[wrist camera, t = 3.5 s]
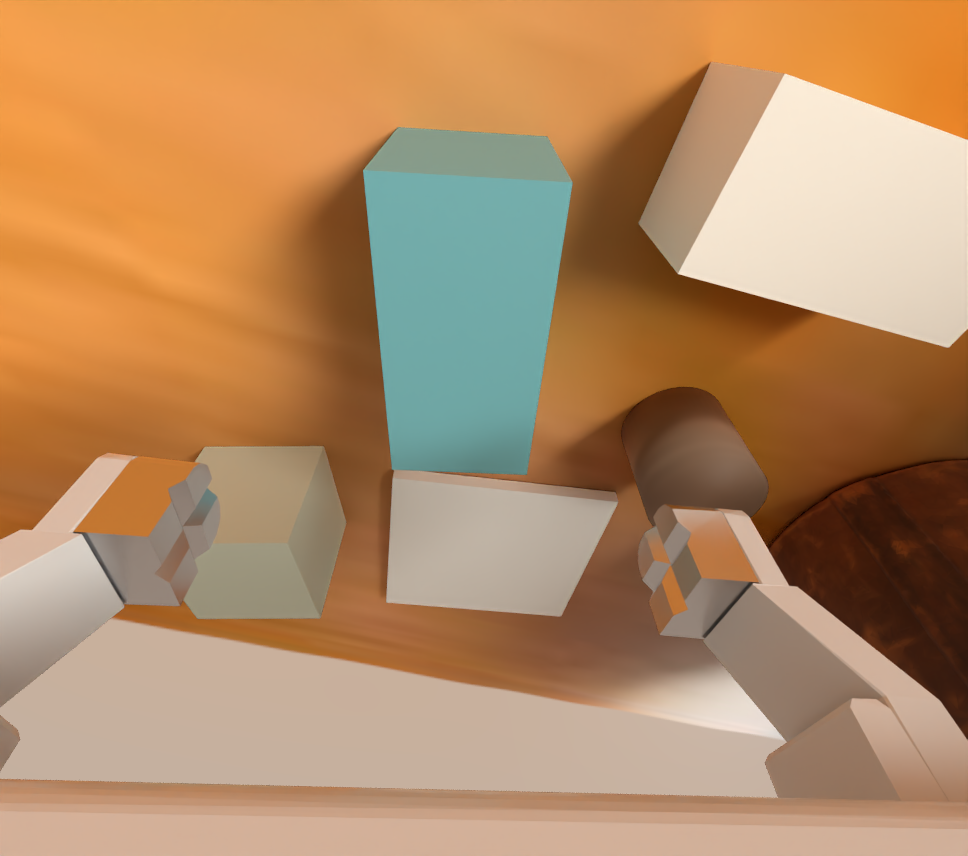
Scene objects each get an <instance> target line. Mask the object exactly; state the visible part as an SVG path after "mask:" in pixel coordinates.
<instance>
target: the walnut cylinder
mask: <svg viewBox="0 0 968 856" xmlns="http://www.w3.org/2000/svg"><path fill="white" fill-rule="evenodd" d="M621 437H622V442H623V445H624V448H625V451H626V454H627V457H628V460H629V463H630V466H631V469H632V472H633V475H634V478H635V481H636V484H637V487H638V490H639V493H640V496H641V499H642V501H643V504H644V507H645V510H646V513H647V516H648V519H649V521H650V522H651V524H652V525H653V526H654V527H655V526H656V523H655V521H654V518H653V517H654V515H655V513H656V512H657V510H658V508H660V507H661V506H663V505H664V504H668V505H681V506H693V507H706V508H713V509H716V508H717V509H729V510H742V511H743V512H744V513H746V514H747V515H748V516H749V517H752V516H753V515H754V514H755V513H756V512H757V511H758V510H759V509H760V508H761V506H762V505H763V503H764V502H765V500H766V498H767V494H768V488H769V487H768V481H767V478H766V476H765V475H764V473H763V472H762V470H761V468H760V467H759V465H758V464H757V462H756V460H755V459H754V457H753V456H752V454H751V453H750V451H749V449H748V448H747V446H746V445H745V443H744V441H743V440H742V438H741V437H740V435H739V433H738V432H737V430H736V429H735V427H734V425H733V424H732V422H731V421H730V419H729V417H728V416H727V414H726V413H725V411H724V409H723V408H722V406H721V405H720V403H719V401H718V400H717V399H716V398H715V397H714V396H713V395H711V394H710V393H708V392H706V391H704V390H701V389H698V388H693V387H677V388H670V389H666V390H663V391H660V392H657V393H655V394H653V395H651V396H649V397H647V398H645V399H644V400H643V401H641V402H640V403H639V404H637V405H636V406H635V407H634V408H633V409H632V410H631V411H630V413H629V414H628V416H627V417H626V419H625V421H624V423H623V426H622V431H621Z"/></svg>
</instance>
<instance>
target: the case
mask: <svg viewBox="0 0 968 856" xmlns="http://www.w3.org/2000/svg"><path fill="white" fill-rule="evenodd" d="M768 550H769V552H770V554H771V555H772V557H773V559H774V561H775V562H776V564H777V566H778V567H779V569H780V571H781V573H782V574H783V576H784V578H785V580H786V581H787V583H788V585H789V586H795V587H798V588H799V589H801V590H802V591H803V592H804V593H806V594H807V595H808V596H809V597H811V598H812V599H813V600H814V601H816V602H817V603H818V604H820V605H821V606H822V607H823V608H825V609H826V610H827V611H828V612H830V613H831V614H832V615H833V616H835V617H836V618H837V619H838V620H840V621H841V622H842V623H843V624H845V625H846V626H847V627H848V628H850V629H851V630H852V631H853V632H855V633H856V634H857V635H858V636H860V637H861V638H862V639H863V640H865V641H866V642H867V643H868V644H870V645H871V646H872V647H873V648H875V649H876V650H877V651H878V652H880V653H881V654H882V655H883V656H885V657H886V658H887V659H888V660H890V661H891V662H892V663H893V664H895V665H896V666H897V667H898V668H900V669H901V670H902V671H903V672H905V673H906V674H907V675H909V676H910V677H911V678H912V679H914V680H915V681H916V682H917V683H919V684H920V685H921V686H922V687H924V688H925V689H926V690H927V691H929V692H930V693H931V694H932V695H934V696H935V697H936V698H937V699H939V700H940V701H941V703H942V704H943V706H944V707H945V709H946V710H947V711H948V713H949V714H950V716H951V717H952V719H953V720H954V721H955V723H956V724H957V726H958V727H959V729H960V730H961V731H962V733H963V734H964V736H965V737H966V739H967V740H968V460H954V461H943V462H935V463H928V464H923V465H919V466H915V467H911V468H907V469H903V470H899V471H895V472H891V473H888V474H885V475H881V476H878V477H875V478H872V477H870V478H867V479H864V480H862V481H859V482H856V483H853V484H851V485H849V486H847V487H844V488H842V489H840V490H838V491H836V492H834V493H832V494H831V495H830V496H828V497H827V498H826V499H824V500H823V501H821V502H819V503H818V504H816V505H815V506H814V507H812V508H811V509H809V510H808V511H806V512H805V513H804V514H802V515H801V516H800V517H799V518H797V519H796V520H795V521H794V522H793V523H792V524H790V525H789V526H788V527H787V528H786V529H785V530H784V531H783V532H782V533H781V534H780V536H779V537H778V538H777V539H776V540H775V541H774V543H773V544H772V545H771V547H770V548H769V549H768Z"/></svg>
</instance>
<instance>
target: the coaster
mask: <svg viewBox="0 0 968 856" xmlns="http://www.w3.org/2000/svg"><path fill="white" fill-rule="evenodd" d="M617 504H618V499H617V495H616V492H610V491H601V490H591V489H582V488H573V487H564V486H555V485H545V484H536V483H527V482H518V481H509V480H499V479H490V478H481V477H472V476H463V475H453V474H444V473H435V472H426V471H412V470H394V474H393V480H392V500H391V519H390V539H389V558H388V577H387V597H386V603H398V604H411V605H423V606H436V607H448V608H461V609H473V610H485V611H498V612H510V613H523V614H535V615H548V616H560V617H561V615H562V613H563V611H564V609H565V607H566V605H567V603H568V602H569V600H570V598H571V596H572V594H573V592H574V590H575V588H576V586H577V584H578V582H579V580H580V578H581V576H582V574H583V572H584V570H585V568H586V566H587V564H588V562H589V560H590V558H591V556H592V554H593V552H594V550H595V548H596V546H597V544H598V542H599V540H600V538H601V536H602V534H603V532H604V530H605V528H606V526H607V524H608V522H609V520H610V518H611V516H612V514H613V512H614V510H615V508H616V506H617Z"/></svg>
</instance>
